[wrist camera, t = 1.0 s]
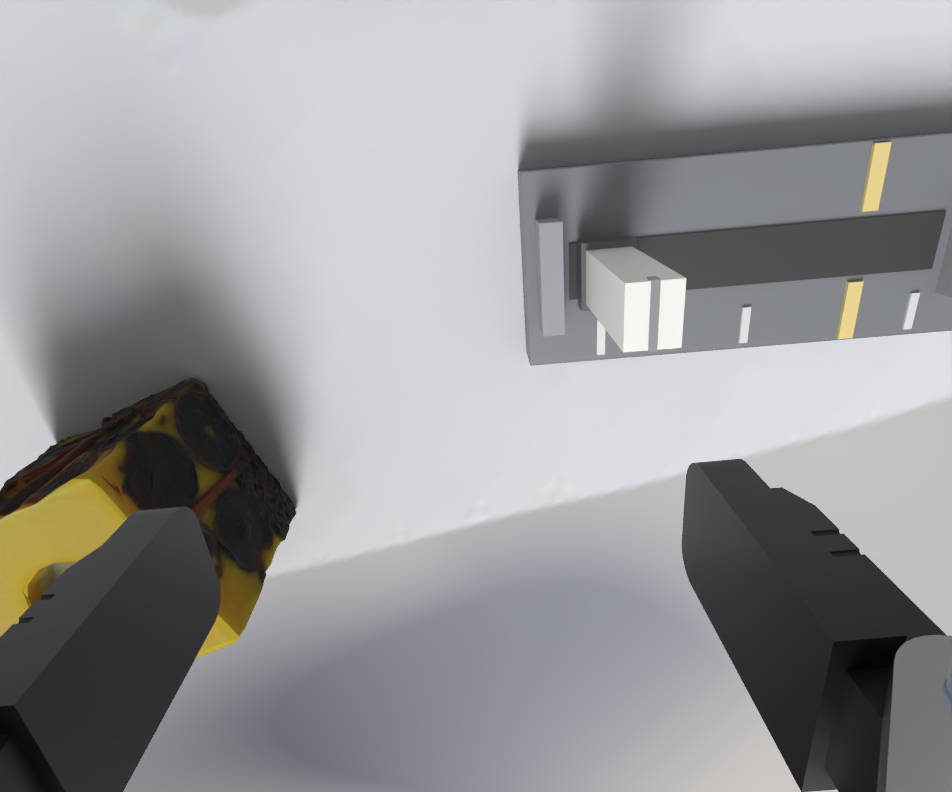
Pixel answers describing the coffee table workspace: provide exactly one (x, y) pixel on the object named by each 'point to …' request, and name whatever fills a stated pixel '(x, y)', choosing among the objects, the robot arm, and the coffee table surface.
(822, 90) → the coffee table surface
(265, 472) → the candle
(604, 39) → the coffee table surface
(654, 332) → the fader
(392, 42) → the coffee table surface
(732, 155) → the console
